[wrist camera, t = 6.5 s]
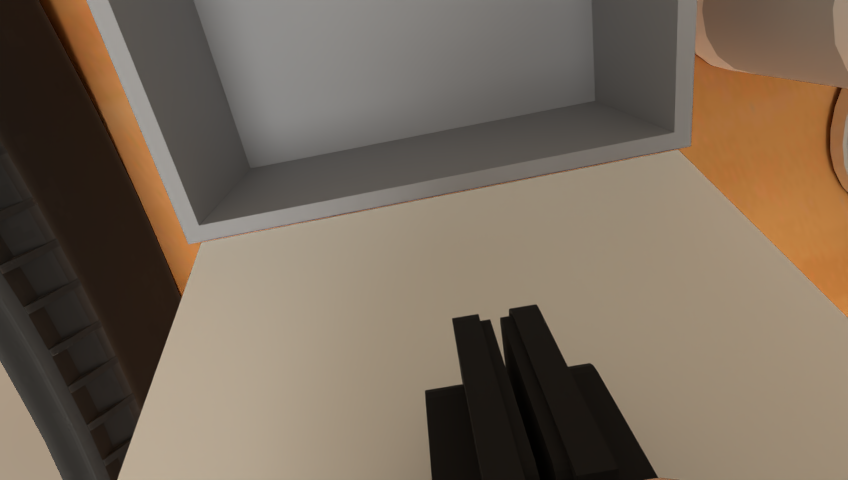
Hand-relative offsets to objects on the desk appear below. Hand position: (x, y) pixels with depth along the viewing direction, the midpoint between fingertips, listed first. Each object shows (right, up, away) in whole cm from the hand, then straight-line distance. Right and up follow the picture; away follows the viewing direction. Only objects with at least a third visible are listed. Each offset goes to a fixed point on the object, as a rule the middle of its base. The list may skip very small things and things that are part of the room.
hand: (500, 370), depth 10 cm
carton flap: (0, 0, +2) cm, 2 cm away
